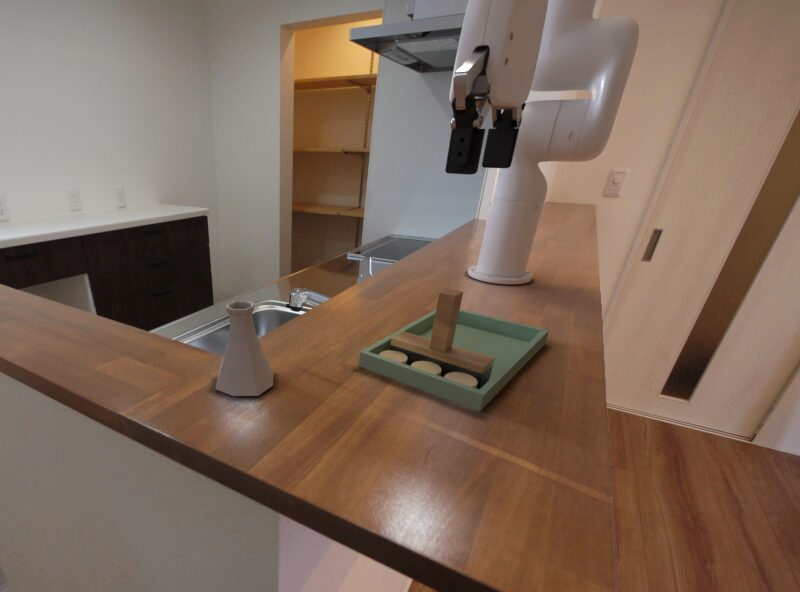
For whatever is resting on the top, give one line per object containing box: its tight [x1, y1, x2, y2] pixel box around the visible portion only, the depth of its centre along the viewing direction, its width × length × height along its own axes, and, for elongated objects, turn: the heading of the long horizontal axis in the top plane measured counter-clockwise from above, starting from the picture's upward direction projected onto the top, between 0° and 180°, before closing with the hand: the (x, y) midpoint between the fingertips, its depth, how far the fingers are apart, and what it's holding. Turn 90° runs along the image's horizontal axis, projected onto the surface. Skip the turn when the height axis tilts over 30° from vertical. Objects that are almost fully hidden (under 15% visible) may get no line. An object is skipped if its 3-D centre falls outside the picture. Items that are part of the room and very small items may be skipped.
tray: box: [358, 308, 550, 412], centre depth 57 cm, size 24×16×3 cm, turn 137°
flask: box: [214, 300, 274, 397], centre depth 50 cm, size 7×7×10 cm
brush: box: [390, 288, 495, 389], centre depth 51 cm, size 3×12×10 cm, turn 47°
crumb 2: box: [411, 361, 442, 376], centre depth 51 cm, size 4×4×2 cm
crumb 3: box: [444, 372, 478, 388], centre depth 49 cm, size 4×4×2 cm
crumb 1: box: [379, 350, 408, 365], centre depth 54 cm, size 4×4×2 cm
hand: (479, 170), depth 47 cm, fingers open, 9 cm apart
